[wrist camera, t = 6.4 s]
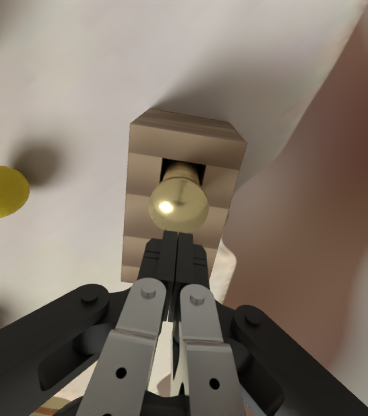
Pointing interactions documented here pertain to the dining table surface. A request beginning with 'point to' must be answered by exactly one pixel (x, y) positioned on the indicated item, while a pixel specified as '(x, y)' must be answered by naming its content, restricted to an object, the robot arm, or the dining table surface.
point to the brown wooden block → (155, 169)
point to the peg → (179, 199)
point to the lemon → (12, 190)
